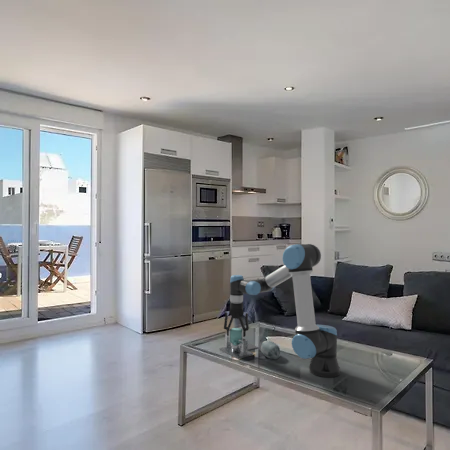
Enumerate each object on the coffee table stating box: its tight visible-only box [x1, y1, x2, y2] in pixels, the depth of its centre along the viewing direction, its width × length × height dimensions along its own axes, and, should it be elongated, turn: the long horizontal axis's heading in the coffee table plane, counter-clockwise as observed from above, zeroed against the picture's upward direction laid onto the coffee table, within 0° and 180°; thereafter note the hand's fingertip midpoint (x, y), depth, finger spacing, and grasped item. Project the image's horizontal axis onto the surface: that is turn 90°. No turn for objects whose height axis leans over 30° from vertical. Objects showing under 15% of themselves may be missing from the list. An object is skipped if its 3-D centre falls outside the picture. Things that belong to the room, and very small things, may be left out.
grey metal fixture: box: [218, 333, 254, 360], centre depth 219 cm, size 18×11×9 cm, turn 35°
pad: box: [240, 343, 259, 351], centre depth 228 cm, size 8×8×1 cm
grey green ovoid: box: [260, 340, 281, 360], centre depth 213 cm, size 14×10×10 cm
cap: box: [229, 327, 243, 345], centre depth 219 cm, size 13×7×7 cm, turn 170°
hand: (236, 341), depth 219 cm, fingers closed on cap, 7 cm apart
